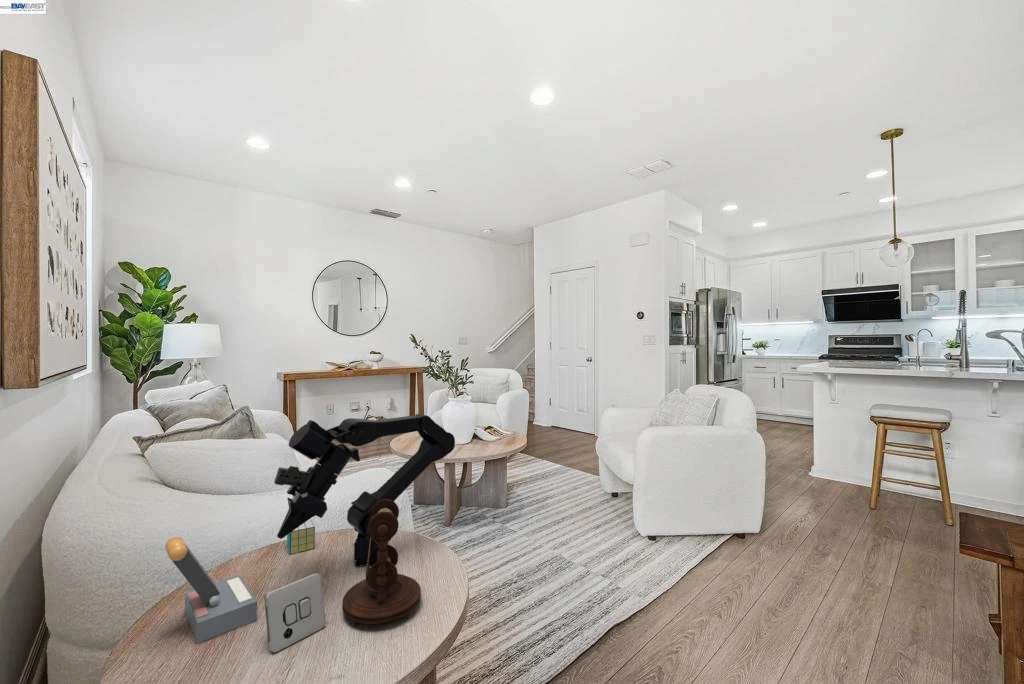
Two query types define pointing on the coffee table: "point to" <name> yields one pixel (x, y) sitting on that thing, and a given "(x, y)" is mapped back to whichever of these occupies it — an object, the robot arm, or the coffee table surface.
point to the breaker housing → (221, 609)
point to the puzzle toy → (301, 538)
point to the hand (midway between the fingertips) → (279, 537)
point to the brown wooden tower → (382, 576)
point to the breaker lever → (192, 570)
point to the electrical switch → (294, 611)
